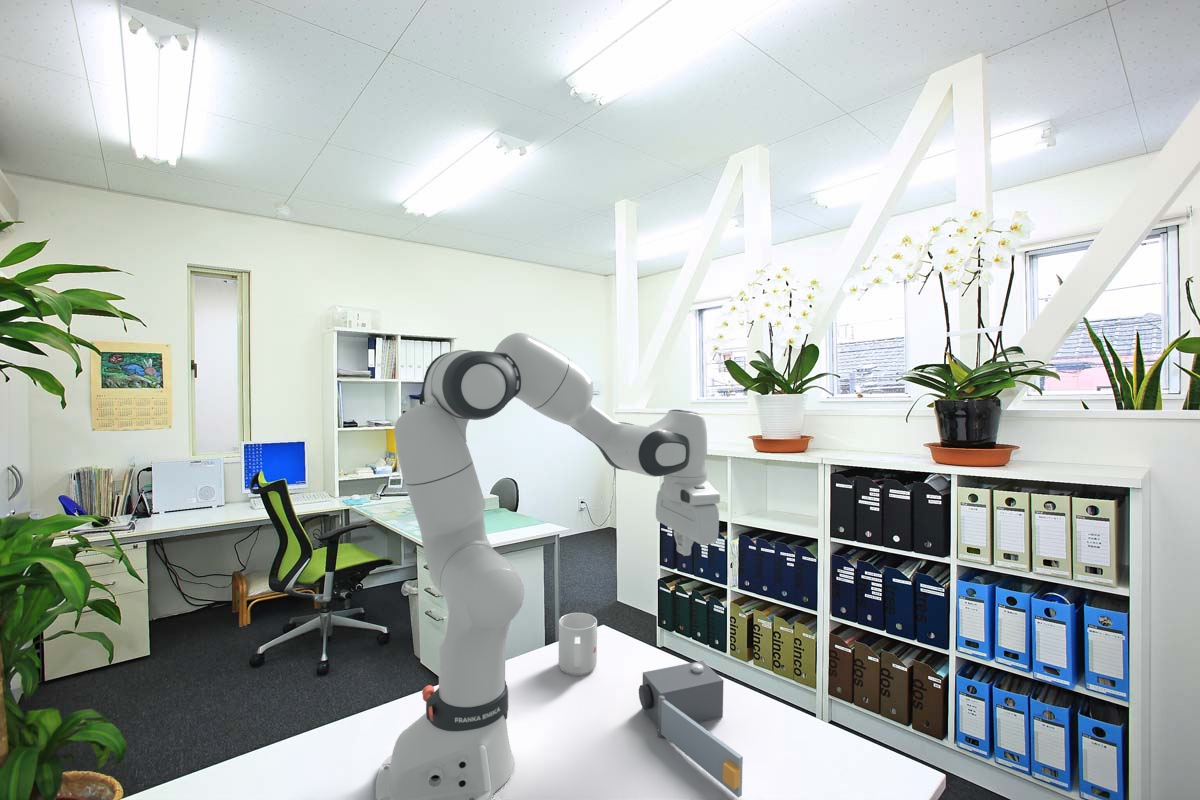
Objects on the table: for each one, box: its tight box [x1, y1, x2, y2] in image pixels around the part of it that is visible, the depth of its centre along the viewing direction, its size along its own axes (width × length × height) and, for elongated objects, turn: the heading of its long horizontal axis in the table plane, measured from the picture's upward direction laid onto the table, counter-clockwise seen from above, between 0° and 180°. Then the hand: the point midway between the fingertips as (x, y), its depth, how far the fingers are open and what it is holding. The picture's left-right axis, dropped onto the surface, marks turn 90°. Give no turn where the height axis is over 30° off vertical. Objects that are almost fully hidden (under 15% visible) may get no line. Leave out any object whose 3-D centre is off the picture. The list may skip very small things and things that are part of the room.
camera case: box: [638, 660, 724, 730], centre depth 110 cm, size 15×8×8 cm, turn 111°
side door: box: [657, 696, 744, 798], centre depth 95 cm, size 20×2×7 cm, turn 35°
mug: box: [558, 612, 598, 677], centre depth 126 cm, size 12×9×11 cm
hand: (683, 553), depth 114 cm, fingers closed
